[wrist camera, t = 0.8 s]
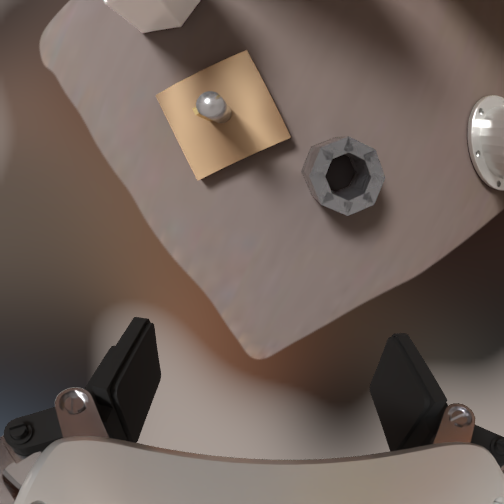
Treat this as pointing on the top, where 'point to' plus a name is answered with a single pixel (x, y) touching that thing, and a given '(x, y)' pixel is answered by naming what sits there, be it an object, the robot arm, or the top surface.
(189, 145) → the shaft block
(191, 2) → the jar
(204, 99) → the shaft
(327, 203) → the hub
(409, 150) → the top surface
